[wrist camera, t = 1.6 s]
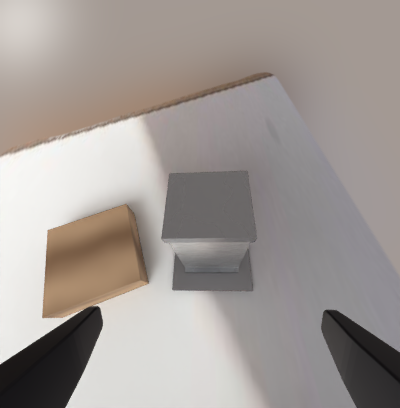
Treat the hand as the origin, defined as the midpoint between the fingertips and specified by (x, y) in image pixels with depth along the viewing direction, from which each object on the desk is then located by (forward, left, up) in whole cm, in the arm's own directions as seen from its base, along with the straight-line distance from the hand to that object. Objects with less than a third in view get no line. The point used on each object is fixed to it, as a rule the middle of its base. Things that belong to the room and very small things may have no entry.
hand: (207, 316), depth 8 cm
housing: (+6, +3, -12) cm, 13 cm away
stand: (0, +14, -12) cm, 18 cm away
